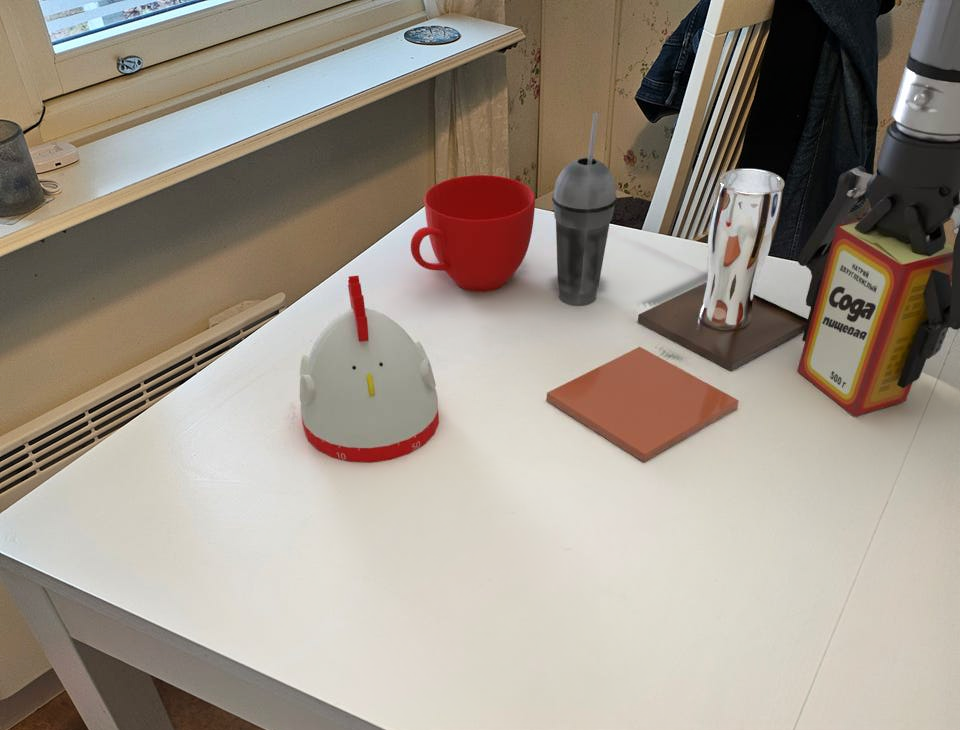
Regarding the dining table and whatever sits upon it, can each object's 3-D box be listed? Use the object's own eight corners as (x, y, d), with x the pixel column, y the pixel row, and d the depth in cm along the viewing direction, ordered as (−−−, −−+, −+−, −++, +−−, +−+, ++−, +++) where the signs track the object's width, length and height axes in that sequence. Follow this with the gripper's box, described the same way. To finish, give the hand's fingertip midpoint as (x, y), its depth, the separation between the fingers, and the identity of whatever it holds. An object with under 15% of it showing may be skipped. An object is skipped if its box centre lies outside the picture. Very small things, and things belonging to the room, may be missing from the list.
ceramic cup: (383, 289, 111) (375, 206, 103) (483, 246, 118) (482, 165, 111) (452, 328, 104) (449, 242, 97) (554, 279, 112) (558, 196, 105)
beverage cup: (535, 300, 109) (542, 118, 94) (567, 276, 112) (578, 98, 98) (588, 317, 106) (603, 132, 91) (618, 292, 110) (637, 111, 95)
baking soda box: (797, 371, 97) (837, 221, 85) (845, 357, 99) (892, 208, 87) (854, 416, 91) (907, 262, 80) (905, 401, 93) (964, 248, 81)
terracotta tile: (737, 408, 93) (739, 400, 92) (643, 462, 87) (645, 454, 86) (638, 354, 100) (639, 346, 99) (545, 400, 94) (546, 392, 94)
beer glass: (695, 299, 106) (718, 165, 95) (755, 305, 105) (786, 169, 94) (692, 329, 102) (716, 192, 90) (755, 335, 101) (787, 196, 89)
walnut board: (810, 328, 103) (812, 320, 103) (731, 371, 98) (732, 363, 97) (716, 284, 111) (717, 276, 110) (637, 322, 105) (638, 314, 104)
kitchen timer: (309, 470, 87) (281, 327, 76) (298, 392, 96) (272, 254, 85) (450, 451, 89) (443, 307, 77) (427, 376, 98) (418, 238, 86)
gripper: (795, 102, 81) (746, 328, 97) (1044, 178, 69) (940, 421, 85) (845, 83, 84) (789, 305, 100) (1092, 152, 72) (982, 392, 88)
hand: (858, 358), depth 93 cm, fingers closed on baking soda box, 11 cm apart
